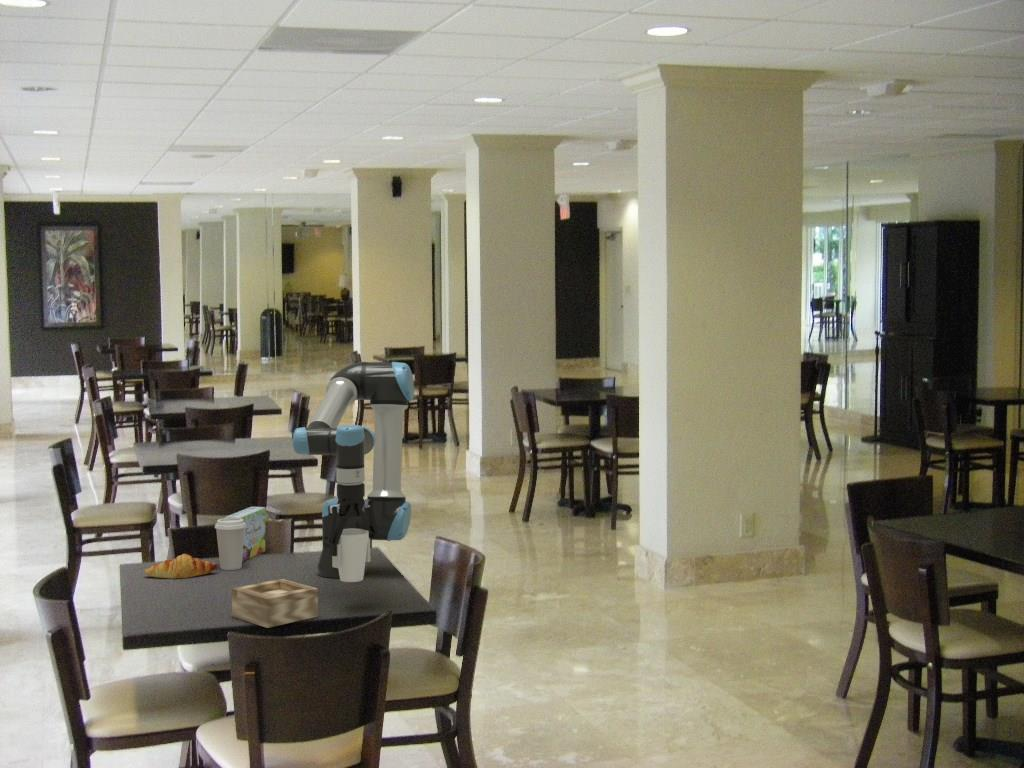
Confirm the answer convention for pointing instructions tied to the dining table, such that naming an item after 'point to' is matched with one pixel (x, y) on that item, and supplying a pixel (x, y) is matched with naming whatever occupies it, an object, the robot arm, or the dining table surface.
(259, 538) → the snack box
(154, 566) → the croissant
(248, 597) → the wooden box
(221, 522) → the coffee cup
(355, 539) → the foam cup
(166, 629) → the dining table surface
